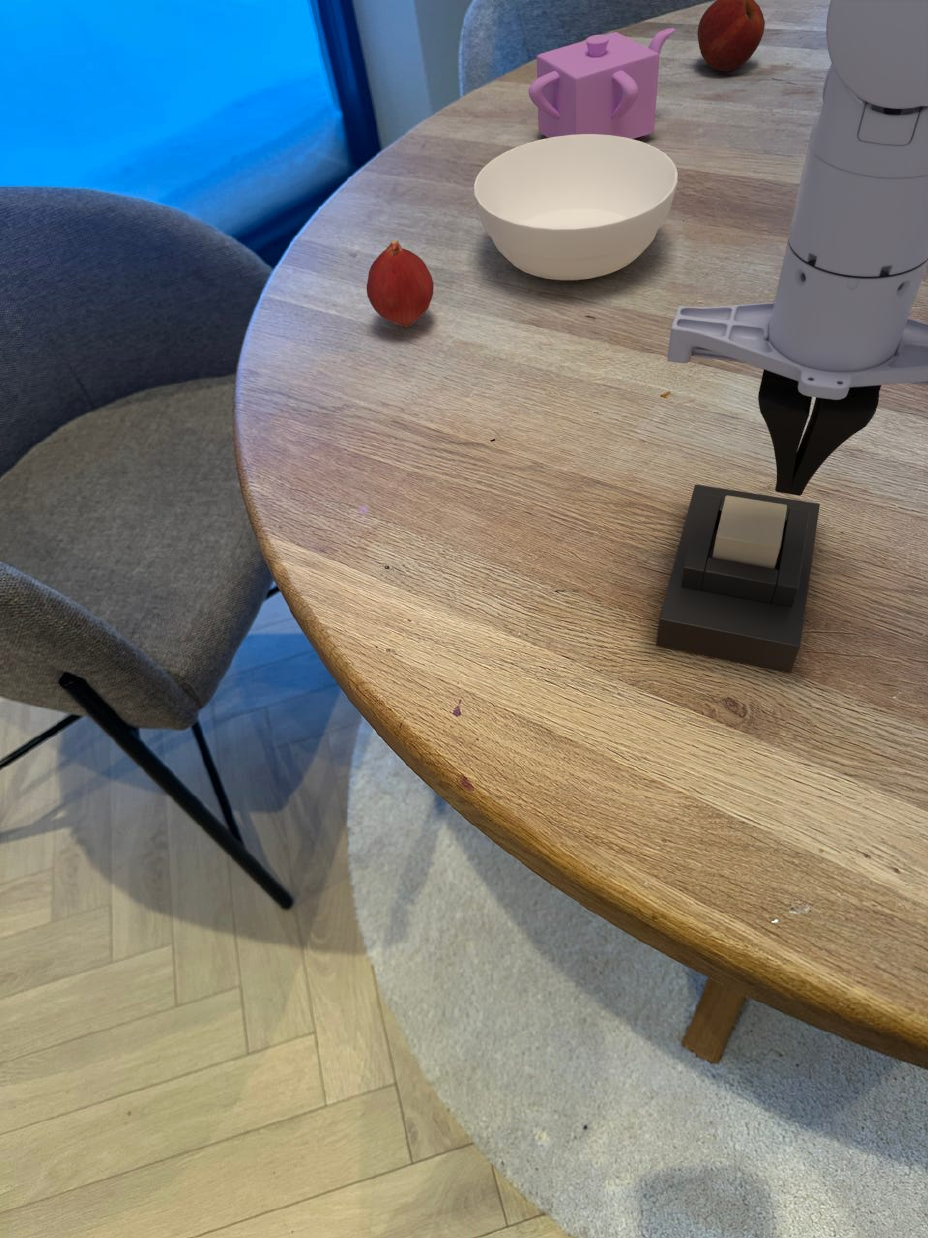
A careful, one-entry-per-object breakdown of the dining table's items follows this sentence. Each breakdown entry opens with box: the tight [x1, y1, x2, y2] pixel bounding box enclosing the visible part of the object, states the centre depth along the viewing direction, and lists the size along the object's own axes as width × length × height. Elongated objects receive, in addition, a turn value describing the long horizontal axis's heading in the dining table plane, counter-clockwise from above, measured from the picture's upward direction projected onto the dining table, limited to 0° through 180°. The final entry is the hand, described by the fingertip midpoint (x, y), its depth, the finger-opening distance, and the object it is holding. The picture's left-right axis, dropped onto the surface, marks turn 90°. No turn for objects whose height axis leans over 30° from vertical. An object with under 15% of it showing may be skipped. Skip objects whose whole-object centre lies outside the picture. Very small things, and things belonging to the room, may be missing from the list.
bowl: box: [473, 134, 679, 281], centre depth 79 cm, size 18×18×7 cm
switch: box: [712, 496, 787, 569], centre depth 51 cm, size 4×4×2 cm
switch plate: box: [655, 484, 821, 674], centre depth 53 cm, size 12×8×4 cm, turn 161°
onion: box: [366, 240, 435, 328], centre depth 74 cm, size 6×6×8 cm
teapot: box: [527, 27, 676, 140], centre depth 93 cm, size 18×14×10 cm
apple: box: [696, 0, 766, 72], centre depth 103 cm, size 7×8×8 cm
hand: (790, 481), depth 46 cm, fingers closed
